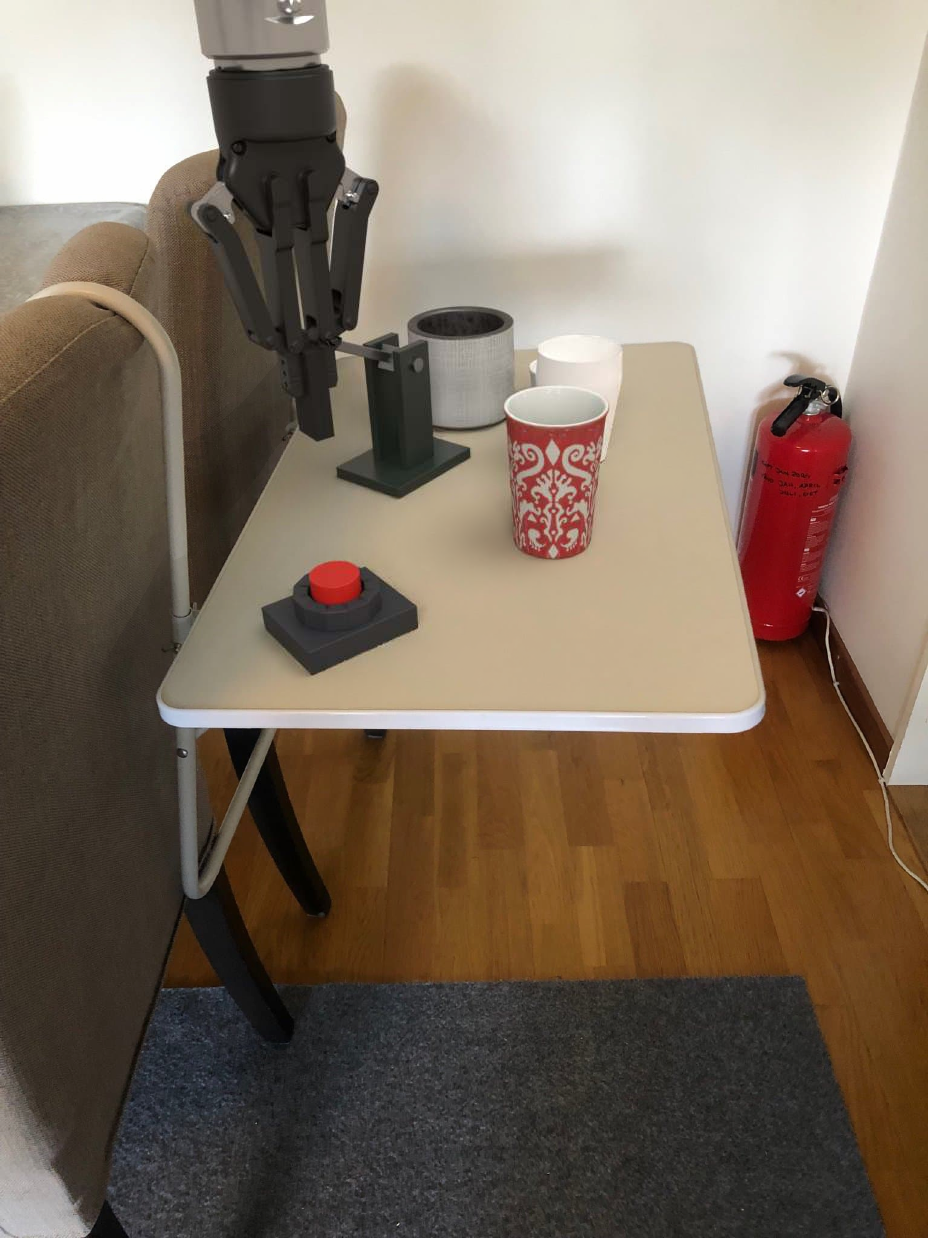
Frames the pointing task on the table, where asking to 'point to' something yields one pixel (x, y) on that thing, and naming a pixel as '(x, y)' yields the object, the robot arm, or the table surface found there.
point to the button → (335, 582)
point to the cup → (583, 369)
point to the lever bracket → (401, 425)
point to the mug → (554, 467)
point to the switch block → (338, 622)
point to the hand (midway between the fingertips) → (316, 432)
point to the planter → (467, 364)
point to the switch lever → (367, 352)
